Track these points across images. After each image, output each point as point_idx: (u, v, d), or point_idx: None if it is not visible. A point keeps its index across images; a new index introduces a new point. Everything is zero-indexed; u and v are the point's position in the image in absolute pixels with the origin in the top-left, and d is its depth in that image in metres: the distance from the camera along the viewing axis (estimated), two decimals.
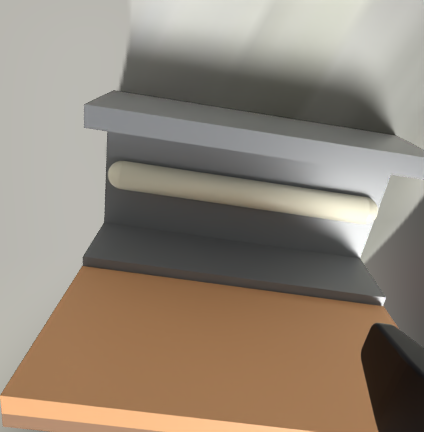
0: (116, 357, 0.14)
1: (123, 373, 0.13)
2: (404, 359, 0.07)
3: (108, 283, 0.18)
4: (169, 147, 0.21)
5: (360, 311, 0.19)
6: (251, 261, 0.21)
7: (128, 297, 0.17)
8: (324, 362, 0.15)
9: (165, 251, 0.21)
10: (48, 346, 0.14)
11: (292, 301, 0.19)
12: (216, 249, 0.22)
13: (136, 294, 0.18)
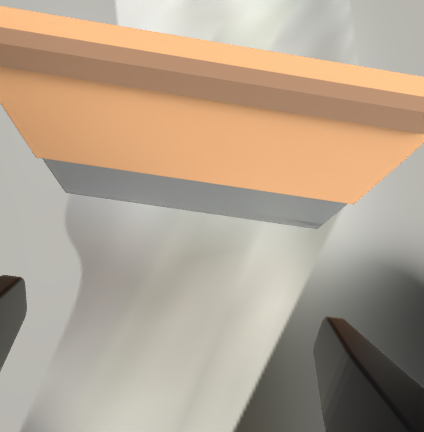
0: None
1: None
2: (346, 352, 0.07)
3: None
4: None
5: None
6: None
7: None
8: None
9: None
10: None
11: None
12: None
13: None
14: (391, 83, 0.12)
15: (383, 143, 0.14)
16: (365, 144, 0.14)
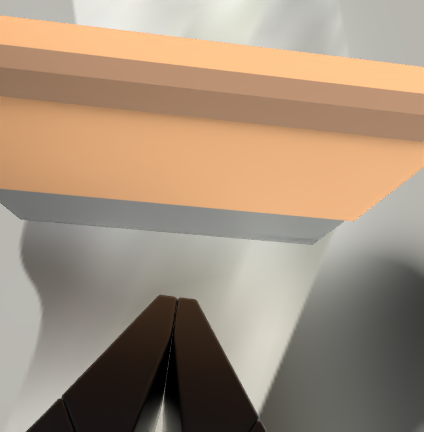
0: None
1: None
2: (173, 330, 0.07)
3: None
4: None
5: None
6: None
7: None
8: None
9: None
10: None
11: None
12: None
13: None
14: (403, 80, 0.09)
15: (391, 154, 0.11)
16: (368, 156, 0.11)
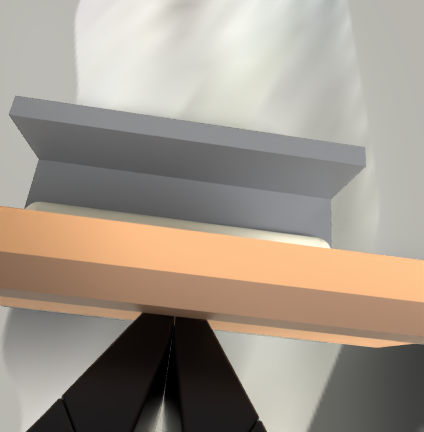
0: None
1: None
2: (173, 330, 0.07)
3: None
4: (98, 191, 0.20)
5: None
6: None
7: None
8: None
9: None
10: None
11: None
12: None
13: None
14: None
15: None
16: None
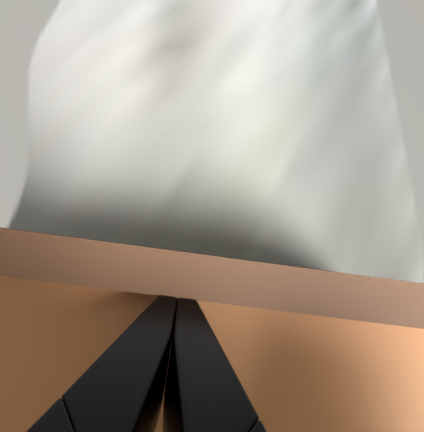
0: None
1: None
2: (173, 331, 0.07)
3: None
4: None
5: None
6: None
7: None
8: None
9: None
10: None
11: None
12: None
13: None
14: None
15: None
16: None
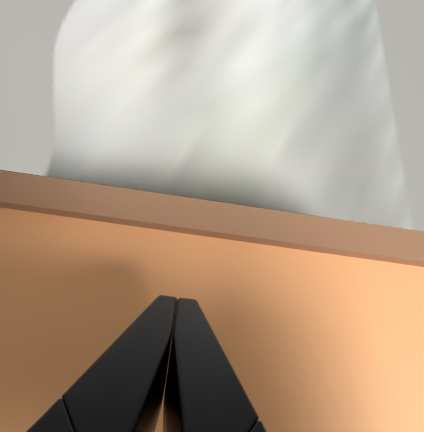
0: None
1: None
2: (173, 330, 0.07)
3: None
4: None
5: None
6: None
7: None
8: None
9: None
10: None
11: None
12: None
13: None
14: None
15: (395, 313, 0.12)
16: (377, 319, 0.12)
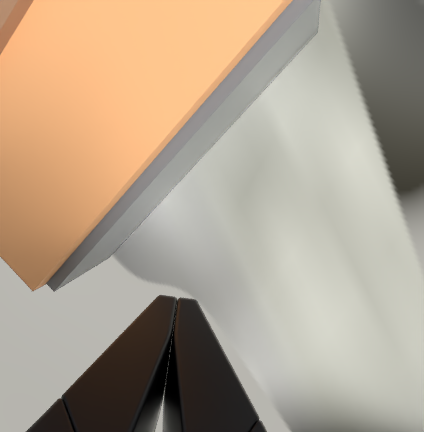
0: None
1: None
2: (173, 330, 0.07)
3: None
4: None
5: None
6: None
7: None
8: None
9: None
10: None
11: None
12: None
13: None
14: None
15: None
16: None
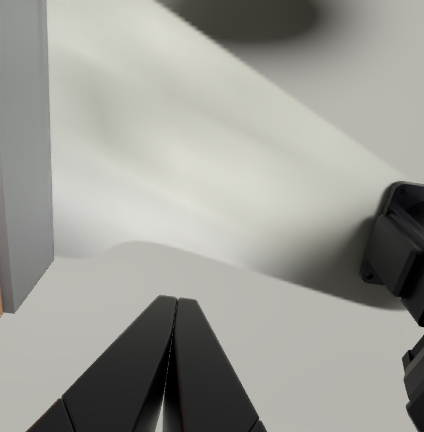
0: None
1: None
2: (173, 331, 0.07)
3: None
4: None
5: None
6: None
7: None
8: None
9: None
10: None
11: None
12: None
13: None
14: None
15: None
16: None
